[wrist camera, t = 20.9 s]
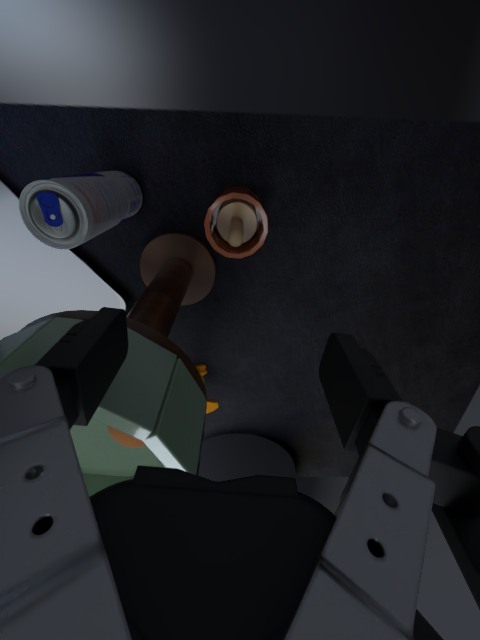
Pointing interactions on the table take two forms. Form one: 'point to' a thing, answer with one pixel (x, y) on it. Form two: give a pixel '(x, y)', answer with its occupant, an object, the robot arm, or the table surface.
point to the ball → (125, 438)
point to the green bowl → (126, 407)
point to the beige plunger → (237, 221)
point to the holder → (216, 238)
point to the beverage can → (78, 206)
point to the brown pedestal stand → (165, 290)
